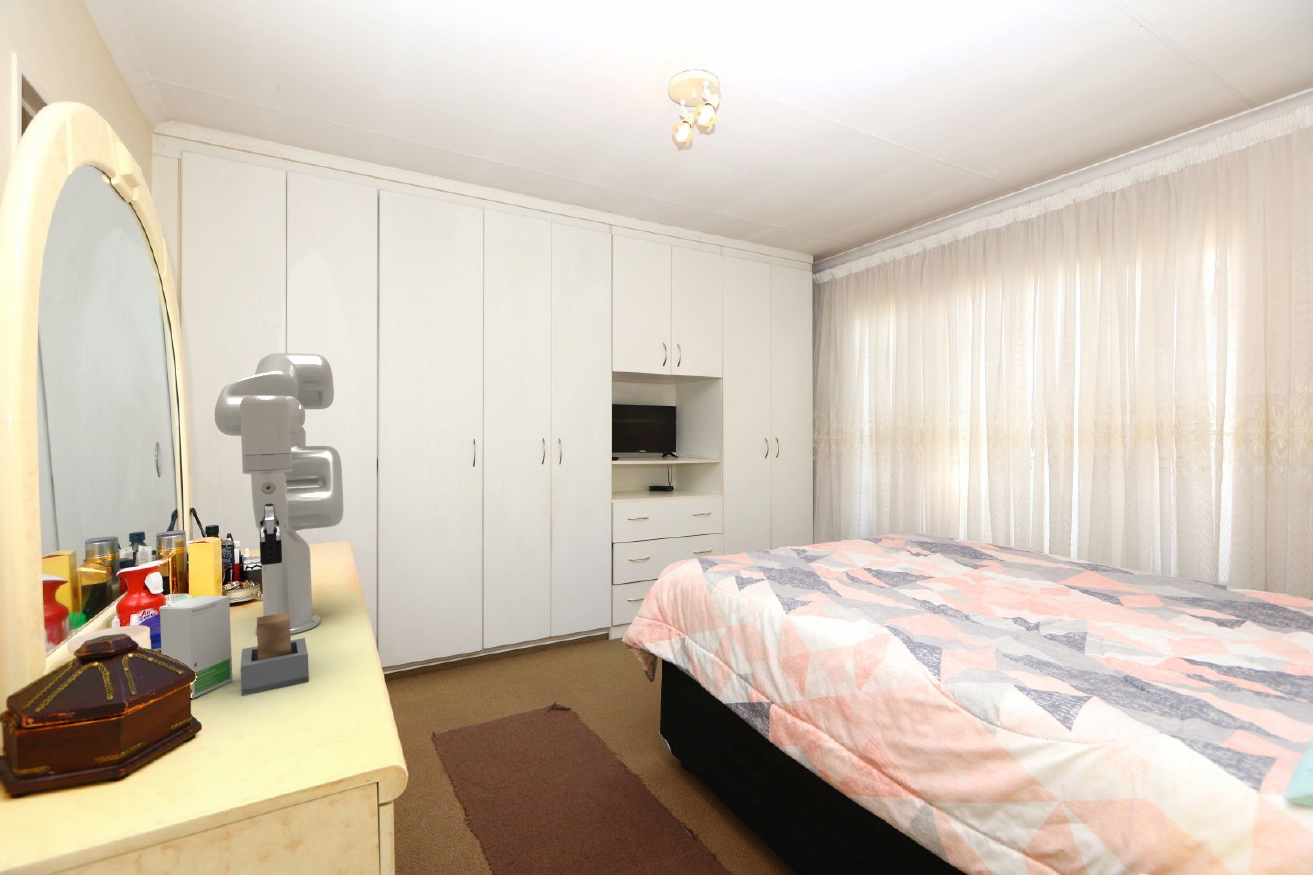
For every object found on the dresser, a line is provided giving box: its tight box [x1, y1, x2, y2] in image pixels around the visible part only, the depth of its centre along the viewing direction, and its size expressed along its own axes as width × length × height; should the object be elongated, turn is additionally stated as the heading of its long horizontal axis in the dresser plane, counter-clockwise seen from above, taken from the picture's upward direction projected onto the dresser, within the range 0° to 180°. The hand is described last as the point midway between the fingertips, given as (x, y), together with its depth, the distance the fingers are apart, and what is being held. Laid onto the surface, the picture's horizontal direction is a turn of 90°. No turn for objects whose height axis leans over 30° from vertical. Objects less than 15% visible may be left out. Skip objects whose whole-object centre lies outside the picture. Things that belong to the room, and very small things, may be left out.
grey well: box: [240, 637, 310, 697], centre depth 112 cm, size 10×10×5 cm
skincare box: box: [159, 595, 233, 700], centre depth 108 cm, size 8×7×16 cm
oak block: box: [256, 612, 292, 660], centre depth 112 cm, size 5×5×10 cm
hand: (271, 558), depth 112 cm, fingers open, 9 cm apart
